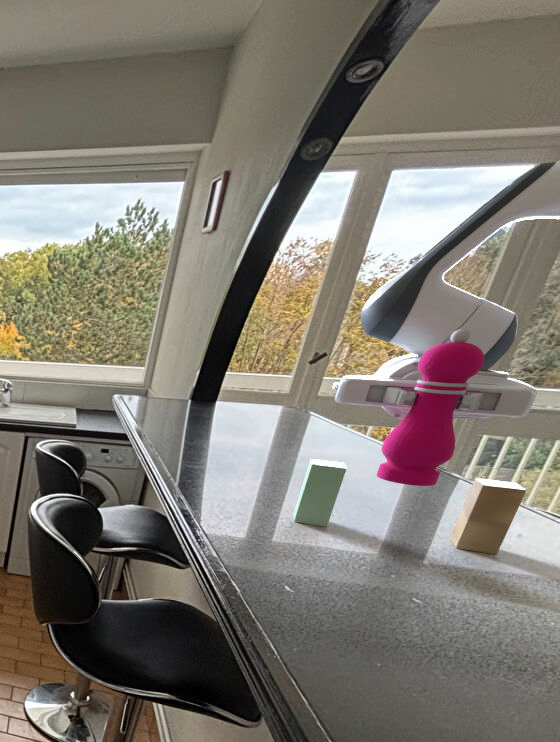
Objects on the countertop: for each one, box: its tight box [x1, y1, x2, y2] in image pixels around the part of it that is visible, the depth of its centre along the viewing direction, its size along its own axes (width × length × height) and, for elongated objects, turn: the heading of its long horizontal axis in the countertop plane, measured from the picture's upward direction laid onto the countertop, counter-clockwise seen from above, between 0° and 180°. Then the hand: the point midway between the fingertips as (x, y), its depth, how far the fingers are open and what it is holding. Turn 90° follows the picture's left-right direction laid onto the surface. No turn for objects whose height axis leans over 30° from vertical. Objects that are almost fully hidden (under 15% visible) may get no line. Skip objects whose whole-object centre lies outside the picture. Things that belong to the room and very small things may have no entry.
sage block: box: [292, 458, 347, 528], centre depth 88 cm, size 4×4×9 cm
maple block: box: [449, 477, 527, 556], centre depth 79 cm, size 4×4×9 cm
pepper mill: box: [376, 329, 484, 487], centre depth 79 cm, size 7×7×20 cm
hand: (437, 401), depth 78 cm, fingers closed on pepper mill, 4 cm apart
